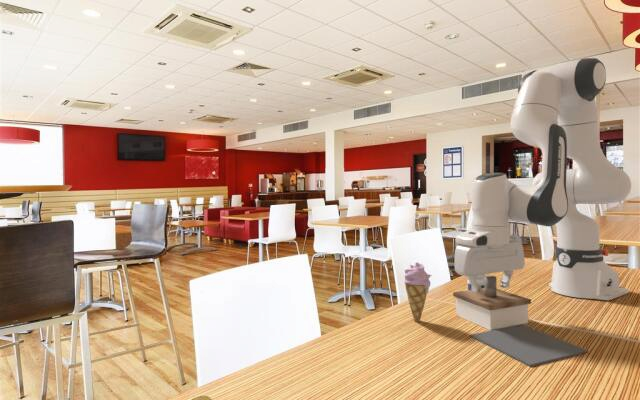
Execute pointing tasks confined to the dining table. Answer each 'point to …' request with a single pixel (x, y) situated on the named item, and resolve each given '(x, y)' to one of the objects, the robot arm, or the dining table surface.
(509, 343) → the mat
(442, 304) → the dining table surface
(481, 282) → the pill bottle
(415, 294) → the ice cream cone
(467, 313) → the dish
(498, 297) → the lid
